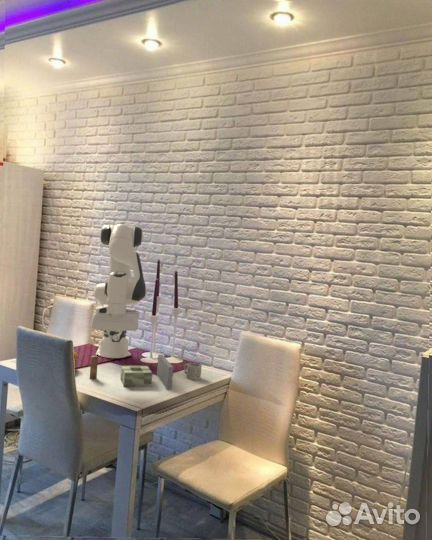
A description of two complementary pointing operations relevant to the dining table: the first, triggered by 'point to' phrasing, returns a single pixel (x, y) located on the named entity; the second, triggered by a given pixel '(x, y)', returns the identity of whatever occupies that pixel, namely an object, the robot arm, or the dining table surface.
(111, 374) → the dining table surface
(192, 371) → the mug
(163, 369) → the wall
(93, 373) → the dowel
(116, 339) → the robot arm
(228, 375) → the dining table surface
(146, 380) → the socket block
